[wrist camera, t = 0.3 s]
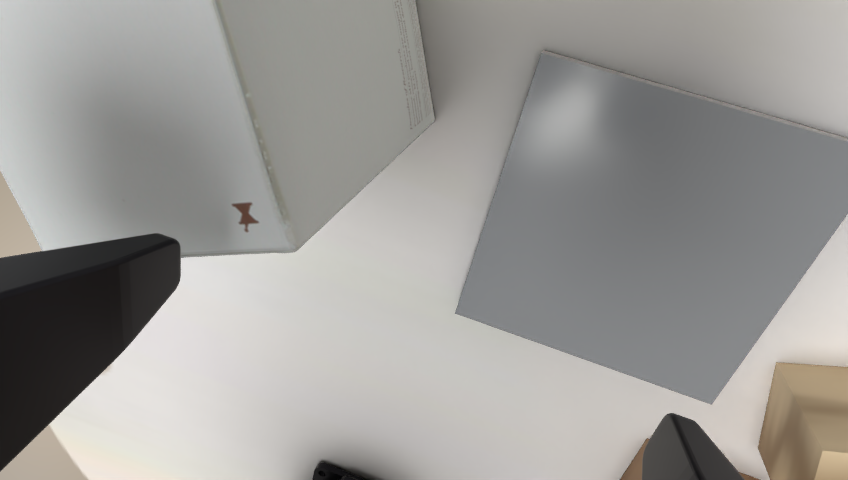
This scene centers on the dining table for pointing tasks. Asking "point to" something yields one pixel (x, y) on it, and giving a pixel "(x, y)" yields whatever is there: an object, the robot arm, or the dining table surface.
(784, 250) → the plate
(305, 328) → the dining table surface
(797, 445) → the oak cube
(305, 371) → the dining table surface
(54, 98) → the supplement box
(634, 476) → the walnut cube
